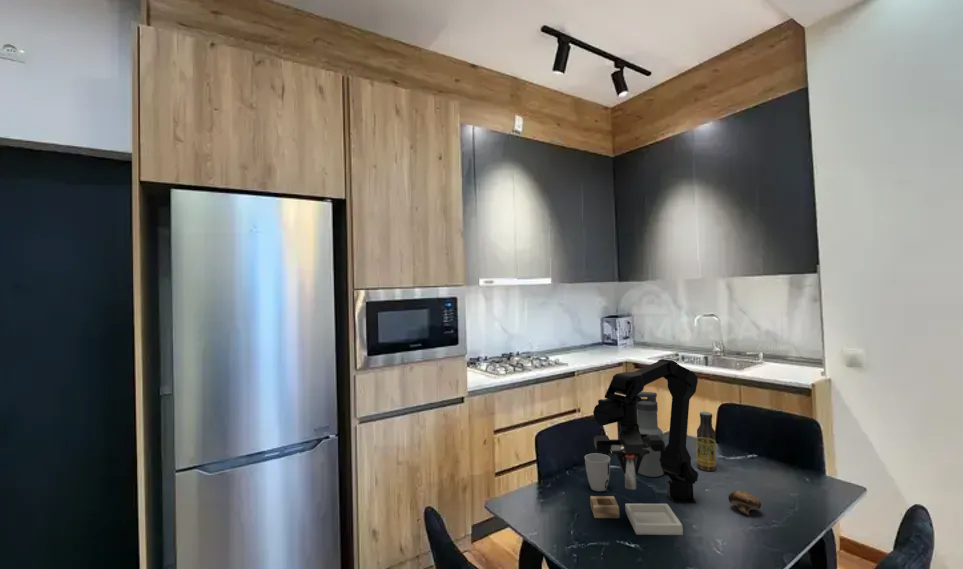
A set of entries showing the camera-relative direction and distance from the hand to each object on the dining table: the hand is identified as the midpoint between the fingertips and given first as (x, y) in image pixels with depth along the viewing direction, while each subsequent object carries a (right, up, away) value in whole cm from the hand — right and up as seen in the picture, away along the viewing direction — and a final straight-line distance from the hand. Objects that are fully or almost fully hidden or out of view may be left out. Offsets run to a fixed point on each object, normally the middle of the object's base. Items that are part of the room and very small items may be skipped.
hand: (630, 473), depth 126 cm
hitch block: (-6, -13, +4) cm, 15 cm away
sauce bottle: (+38, -12, +32) cm, 51 cm away
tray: (+5, -12, -3) cm, 14 cm away
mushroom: (+34, -12, +1) cm, 36 cm away
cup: (-4, -14, +20) cm, 24 cm away
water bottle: (+17, -13, +31) cm, 37 cm away
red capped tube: (0, -4, 0) cm, 4 cm away
